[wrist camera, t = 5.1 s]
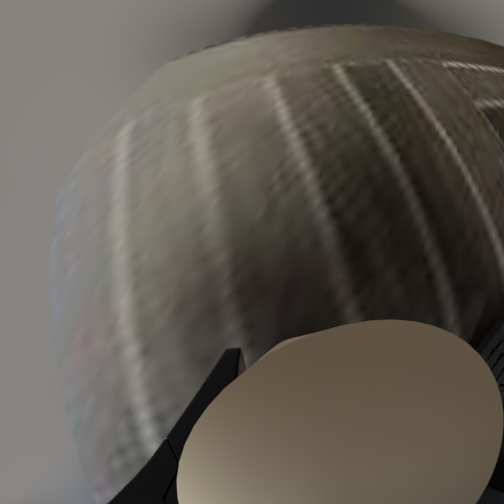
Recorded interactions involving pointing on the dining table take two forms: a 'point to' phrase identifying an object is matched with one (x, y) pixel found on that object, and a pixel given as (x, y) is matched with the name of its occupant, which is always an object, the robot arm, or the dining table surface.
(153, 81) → the dining table surface
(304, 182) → the dining table surface
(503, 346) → the hairbrush
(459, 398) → the cream ridged cylinder
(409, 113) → the dining table surface
